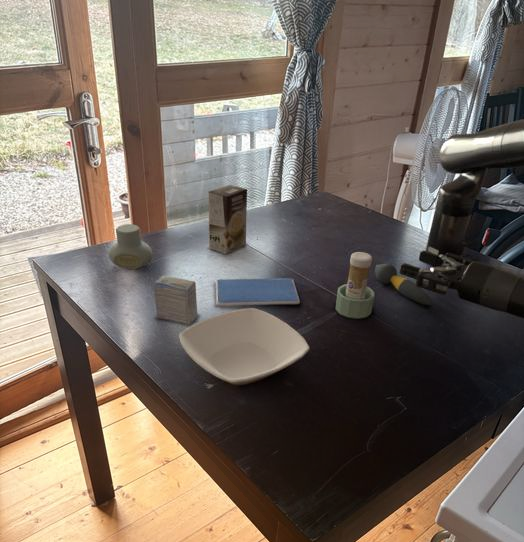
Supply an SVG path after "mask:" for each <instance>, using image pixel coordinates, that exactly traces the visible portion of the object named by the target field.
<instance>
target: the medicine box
mask: <svg viewBox="0 0 524 542" xmlns="http://www.w3.org/2000/svg"><path fill="white" fill-rule="evenodd" d="M196 287H197V286H196V281H194V280H189V279H184V278H179V277H173V276H168V275H162V276H161V277H160V278H158V280H156V281H155V282H154V283H153V290H154V300H155V309H156V310H155V312H156V318H157V319H160V320H166V321H171V322H176V323H179V324H185V325H190V324H192V323H193V321H194V320H195V319H196V317H197V316H198V302H197V301H198V300H197V288H196Z"/></svg>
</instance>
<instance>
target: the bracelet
mask: <svg viewBox="0 0 524 542" xmlns="http://www.w3.org/2000/svg"><path fill="white" fill-rule="evenodd" d="M346 289H347V283H346V284H342V285H341V286H339V287H338V288H337V294H336V302H335V311H336V312H337V313H338V314H339V315H341V316H343V317H345V318H349V319H357V320H358V319H364V318H367V317H369V316H370V315H372V312H373V311H372V310H373V306H374V301H375V291H374V290H373V289H372V288H371V287H369V286H367V288H366V294H365V298H364V300H354V299H349V298H347V297H346Z"/></svg>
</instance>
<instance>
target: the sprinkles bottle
mask: <svg viewBox="0 0 524 542" xmlns="http://www.w3.org/2000/svg"><path fill="white" fill-rule="evenodd" d="M372 261H373V256H372V255H371V254H370V253H367V252H363V251H356V252H353V253H351V255H350V260H349V265H350V266H349V270H348V271H349V273H348V279H347V283H346V284H347V289H346V297H347V298H349V299H354V300H364V298H365V294H366V288H367V287H368V282H369V275H370V268H371V266H372Z"/></svg>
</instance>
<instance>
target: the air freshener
mask: <svg viewBox="0 0 524 542" xmlns="http://www.w3.org/2000/svg"><path fill="white" fill-rule="evenodd" d="M115 234H116V235H115V236H116V242H115V243H114V244H113V245H112V246H111V247H110V249H109V251H108V258H109V261H111V263H112V264H113V265H114V266H116V267H118V268H121V269H124V270H127V271H134V270H137V269H140V268H142V267H145V266H146V265H148V264H149V263H150V262H151V260H152V258H153V250H152V247H151V246H150V245H149V244H148V243H147V242H145V241H142V236H141V235H142V234H141V228H140V227H139V225H136V224H132V223H131V224H130V223H129V224H127V223H126V224H125V223H124V224H121V225H119V226H117V227H116V229H115Z"/></svg>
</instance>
